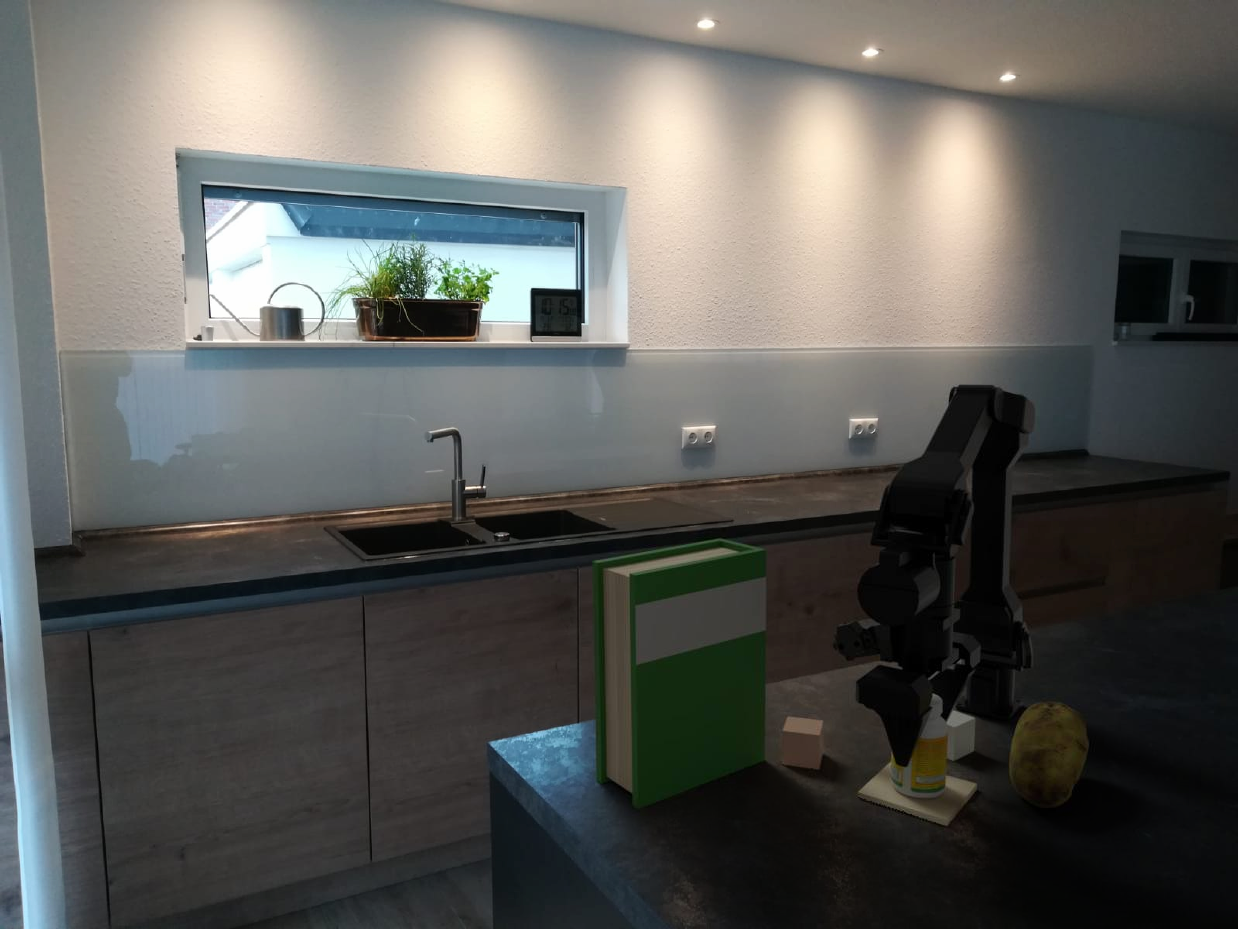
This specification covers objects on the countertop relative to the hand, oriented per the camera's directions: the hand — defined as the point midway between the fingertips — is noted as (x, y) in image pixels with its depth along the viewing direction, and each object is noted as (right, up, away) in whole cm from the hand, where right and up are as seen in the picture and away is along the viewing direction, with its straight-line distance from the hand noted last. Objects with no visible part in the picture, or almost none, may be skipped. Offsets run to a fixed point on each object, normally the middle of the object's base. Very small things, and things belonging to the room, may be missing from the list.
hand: (919, 749), depth 91 cm
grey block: (+7, -4, +10) cm, 13 cm away
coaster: (0, -5, +1) cm, 5 cm away
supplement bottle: (0, -4, +1) cm, 4 cm away
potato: (+13, -5, +1) cm, 14 cm away
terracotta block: (-10, -4, +9) cm, 14 cm away
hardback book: (-24, -5, +7) cm, 25 cm away
